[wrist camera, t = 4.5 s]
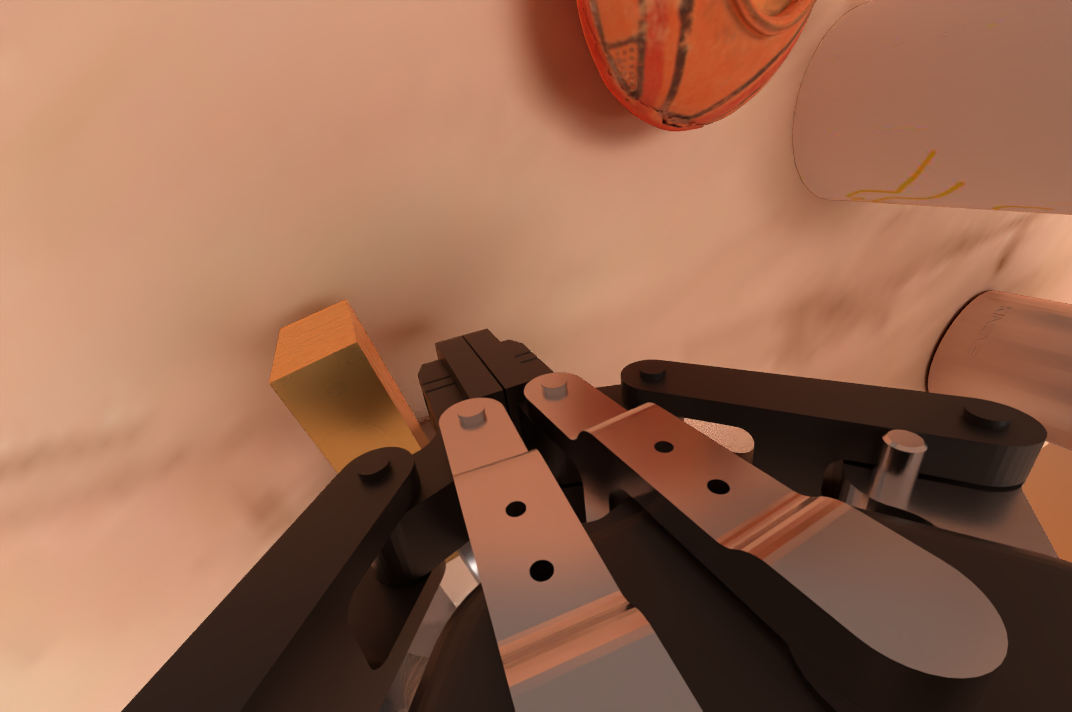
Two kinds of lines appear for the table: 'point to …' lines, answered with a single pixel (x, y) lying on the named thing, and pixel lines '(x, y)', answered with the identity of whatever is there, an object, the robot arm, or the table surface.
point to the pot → (689, 53)
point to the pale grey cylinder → (941, 106)
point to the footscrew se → (359, 423)
